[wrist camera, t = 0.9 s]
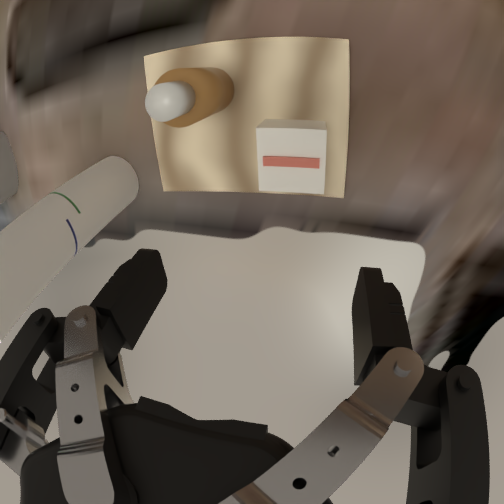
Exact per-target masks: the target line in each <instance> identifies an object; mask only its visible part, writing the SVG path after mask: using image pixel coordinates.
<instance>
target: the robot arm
mask: <svg viewBox="0 0 504 504" xmlns="http://www.w3.org/2000/svg"><path fill="white" fill-rule="evenodd" d="M166 288H167V277H166V273H165V270H164V267H163V263H162V259H161V256H160V253H159V251H158V250H153V249H139V250H138V251H137V253H136V254H135V255H134V256H133V258H132V259H129V260H128V261H127V262H125V263H124V264H122V265H121V266H120V267H119V268H118V269H117V271H116V272H115V273H114V276H112V277H111V278H110V279H109V281H108V282H107V283H106V284H105V286H104V287H103V288H102V290H101V291H100V292H99V294H98V295H97V296H96V298H95V299H94V300H93V302H92V303H91V304H90V305H89V306H87V305H85V306H80V307H77V308H75V309H74V310H72V311H71V312H70V313H69V314H68V316H67V317H54V315H53V313H52V312H51V311H50V309H48V308H41V309H38V310H36V311H35V312H34V313H32V314H31V315H30V317H29V318H28V320H27V321H26V322H25V324H24V325H23V327H22V328H21V330H20V331H19V332H18V334H17V335H16V337H15V339H14V340H13V341H12V343H11V344H10V346H9V348H8V349H7V351H6V352H5V354H4V356H3V357H2V359H1V360H0V460H1V461H3V462H4V463H5V464H6V465H7V466H8V467H9V468H11V469H12V470H13V471H14V472H16V473H17V474H18V475H19V476H20V486H21V500H20V501H21V502H20V504H333V503H332V502H331V500H330V499H329V497H330V496H331V495H332V494H333V493H334V492H335V491H336V490H337V489H338V488H339V487H340V486H341V485H342V484H343V483H344V482H345V481H346V480H347V478H348V477H349V476H350V475H351V474H352V473H353V472H354V471H355V470H356V469H357V467H358V466H359V465H360V464H361V463H362V462H363V461H364V460H365V458H366V457H367V456H368V455H369V454H370V453H371V451H372V450H373V449H374V448H375V446H376V445H377V444H378V443H379V441H380V440H381V439H382V438H383V436H384V435H385V433H386V432H387V431H388V427H389V426H390V424H391V423H392V422H393V421H397V422H400V423H404V424H407V425H410V426H411V454H410V471H409V482H408V492H407V501H406V504H488V503H489V478H490V472H489V471H490V468H489V467H490V466H489V442H488V430H487V421H486V412H485V405H484V399H483V393H482V387H481V382H480V378H479V377H478V375H477V373H476V372H475V371H474V370H473V369H472V368H470V367H468V366H465V365H457V366H454V367H453V368H452V369H450V371H449V372H448V373H447V372H444V371H440V370H437V369H433V368H430V367H428V366H426V365H424V364H423V361H422V359H421V357H420V356H419V355H418V354H417V353H416V352H414V351H413V349H412V344H411V339H410V334H409V329H408V325H407V320H406V316H405V311H404V307H403V306H402V305H403V303H402V299H401V295H400V292H399V291H398V290H397V288H396V287H395V286H394V284H393V283H387V282H384V280H383V275H382V271H381V269H380V268H370V267H361V269H360V271H359V275H358V280H357V284H356V288H355V292H354V296H353V303H352V323H353V344H354V385H360V386H359V387H358V388H357V390H356V391H355V392H354V393H353V394H352V396H350V397H349V398H348V399H345V400H344V401H343V402H341V403H340V404H339V405H338V406H337V407H336V409H335V410H334V411H333V412H332V413H331V414H330V415H329V416H328V417H327V418H326V419H325V420H324V421H323V422H322V423H321V424H320V425H319V426H318V427H317V428H316V429H315V430H314V431H312V432H311V433H310V434H309V435H308V436H307V437H306V438H305V439H304V440H303V441H302V442H301V443H300V444H299V445H297V446H296V447H295V448H293V447H292V446H291V445H290V444H288V443H287V442H286V441H284V440H283V439H281V438H279V437H277V436H275V435H273V434H270V433H268V425H263V424H256V423H250V422H244V421H238V420H196V419H193V418H192V417H190V416H188V415H186V414H184V413H182V412H181V411H179V410H177V409H175V408H173V407H172V406H170V405H168V404H165V403H162V402H158V401H154V400H152V399H149V398H145V397H142V396H141V397H140V399H139V401H138V403H134V402H133V400H132V398H131V396H130V393H129V390H128V386H127V381H126V377H125V372H124V367H123V362H122V357H121V354H120V350H121V348H126V349H129V350H133V348H134V346H135V345H136V343H137V341H138V339H139V337H140V335H141V334H142V332H143V330H144V328H145V327H146V324H147V323H148V321H149V320H150V318H151V316H152V314H153V313H154V311H155V309H156V307H157V306H158V304H159V302H160V300H161V299H162V297H163V295H164V294H165V292H166ZM43 350H44V351H45V353H46V354H47V355H48V356H49V360H48V361H47V363H46V365H45V366H44V368H43V370H42V372H41V374H40V375H39V377H38V379H37V381H36V380H35V379H34V378H33V375H32V368H33V366H34V365H35V363H36V361H37V359H38V358H39V356H40V355H41V353H42V351H43ZM56 409H57V416H58V426H59V435H60V437H59V438H58V439H56V440H54V441H52V442H50V443H49V442H48V441H47V440H46V439H45V433H46V431H47V429H48V426H49V424H50V422H51V420H52V417H53V415H54V413H55V411H56Z"/></svg>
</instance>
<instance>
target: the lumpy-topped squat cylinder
mask: <svg viewBox="0 0 504 504" xmlns="http://www.w3.org/2000/svg"><path fill="white" fill-rule="evenodd" d="M17 190H18V170H17V165H16V161H15V158H14V155H13V152H12V149H11V146H10V143H9V140H8V138H7V136H6V134H5V133H4V132H2V131H0V204H1V203H3V202H4V201H6V200H7V199H8V198H10V197H11V196H13V195H14V194H15V193H16V192H17Z"/></svg>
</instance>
